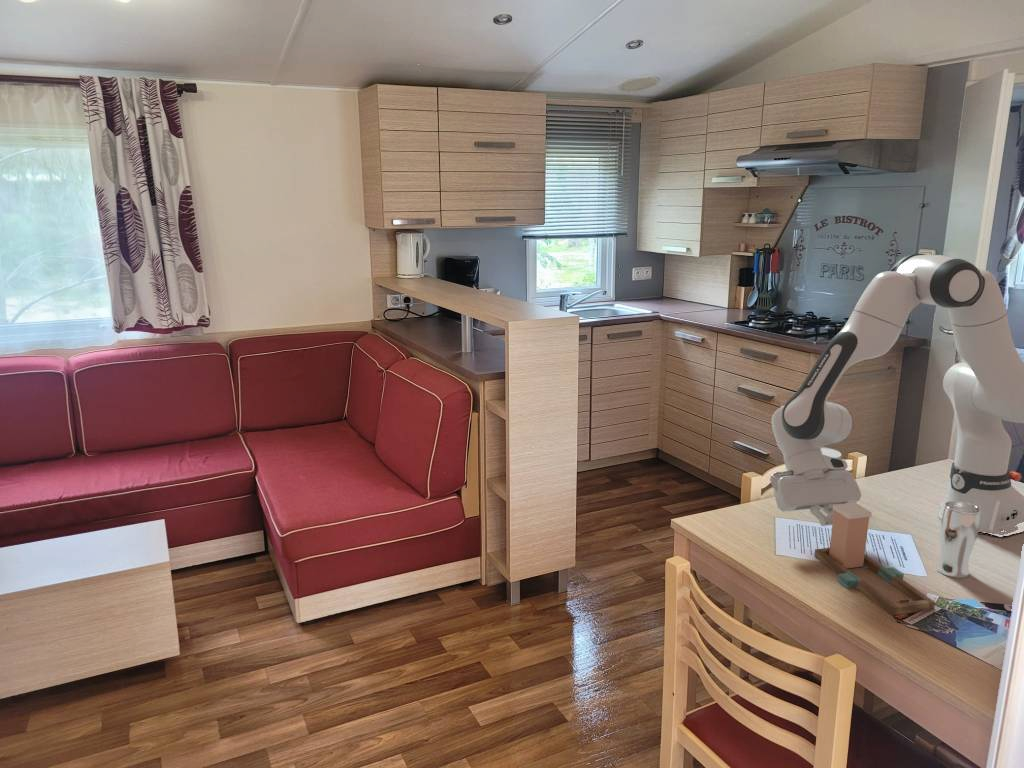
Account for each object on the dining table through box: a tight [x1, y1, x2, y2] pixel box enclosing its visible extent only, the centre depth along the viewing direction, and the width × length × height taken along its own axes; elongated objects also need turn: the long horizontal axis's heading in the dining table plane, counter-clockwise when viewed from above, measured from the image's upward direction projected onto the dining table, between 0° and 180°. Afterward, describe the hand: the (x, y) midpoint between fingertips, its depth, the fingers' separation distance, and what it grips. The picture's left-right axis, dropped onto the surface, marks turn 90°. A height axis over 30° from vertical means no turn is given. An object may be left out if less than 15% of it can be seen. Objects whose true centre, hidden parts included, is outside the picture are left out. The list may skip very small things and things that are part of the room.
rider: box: [829, 502, 872, 569], centre depth 163 cm, size 5×5×13 cm
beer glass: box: [935, 501, 981, 579], centre depth 159 cm, size 7×7×15 cm
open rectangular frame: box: [813, 547, 936, 616], centre depth 157 cm, size 13×25×2 cm, turn 13°
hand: (829, 524), depth 170 cm, fingers closed
